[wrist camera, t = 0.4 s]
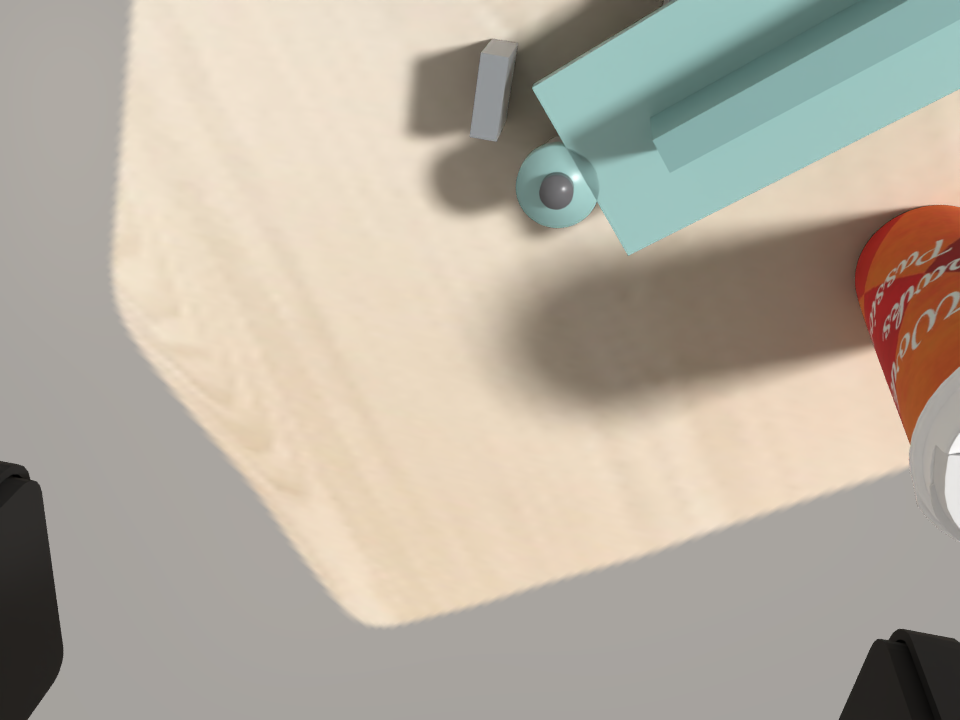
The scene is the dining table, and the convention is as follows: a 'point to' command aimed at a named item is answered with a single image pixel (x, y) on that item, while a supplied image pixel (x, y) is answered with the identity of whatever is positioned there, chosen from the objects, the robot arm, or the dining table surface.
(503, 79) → the grey frame
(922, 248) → the paper cup
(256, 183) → the dining table surface
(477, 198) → the dining table surface
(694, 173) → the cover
